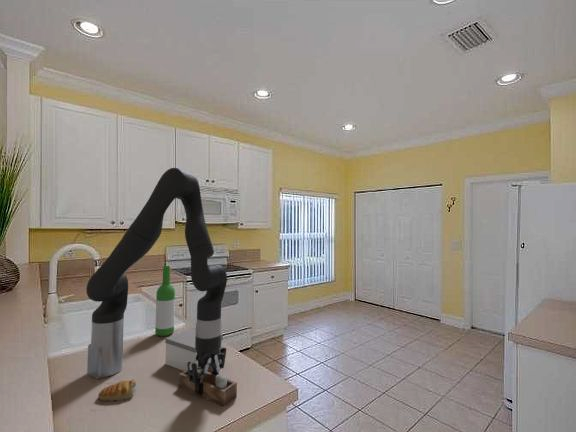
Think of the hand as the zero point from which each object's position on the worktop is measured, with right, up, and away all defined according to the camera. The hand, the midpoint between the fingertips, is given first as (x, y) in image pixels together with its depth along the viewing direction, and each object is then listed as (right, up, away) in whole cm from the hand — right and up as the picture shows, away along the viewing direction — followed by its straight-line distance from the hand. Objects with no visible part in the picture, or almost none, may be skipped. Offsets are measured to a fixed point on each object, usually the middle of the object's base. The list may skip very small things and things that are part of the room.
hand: (207, 389), depth 90 cm
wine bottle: (-31, -1, +44) cm, 54 cm away
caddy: (0, -1, 0) cm, 1 cm away
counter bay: (-10, -1, +18) cm, 21 cm away
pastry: (-24, -1, -3) cm, 25 cm away
